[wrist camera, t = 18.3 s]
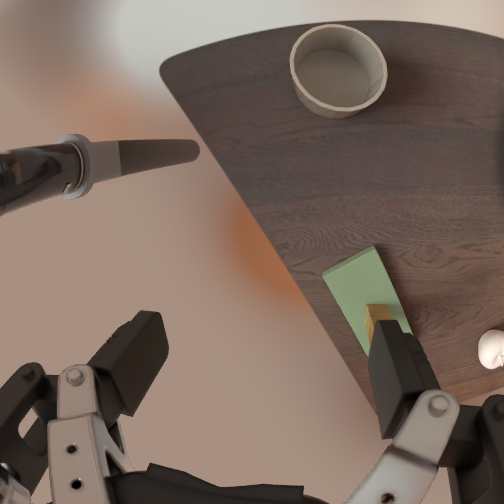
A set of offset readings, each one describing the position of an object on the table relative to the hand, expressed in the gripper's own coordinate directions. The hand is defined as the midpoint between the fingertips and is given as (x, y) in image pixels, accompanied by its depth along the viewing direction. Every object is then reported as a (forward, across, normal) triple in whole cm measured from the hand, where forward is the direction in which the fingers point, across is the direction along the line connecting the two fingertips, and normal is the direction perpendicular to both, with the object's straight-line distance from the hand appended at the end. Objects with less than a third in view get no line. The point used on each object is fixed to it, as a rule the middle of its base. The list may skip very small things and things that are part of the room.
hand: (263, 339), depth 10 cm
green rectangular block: (+28, -12, +16) cm, 35 cm away
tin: (+29, -6, -15) cm, 33 cm away
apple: (+28, -37, +24) cm, 52 cm away
